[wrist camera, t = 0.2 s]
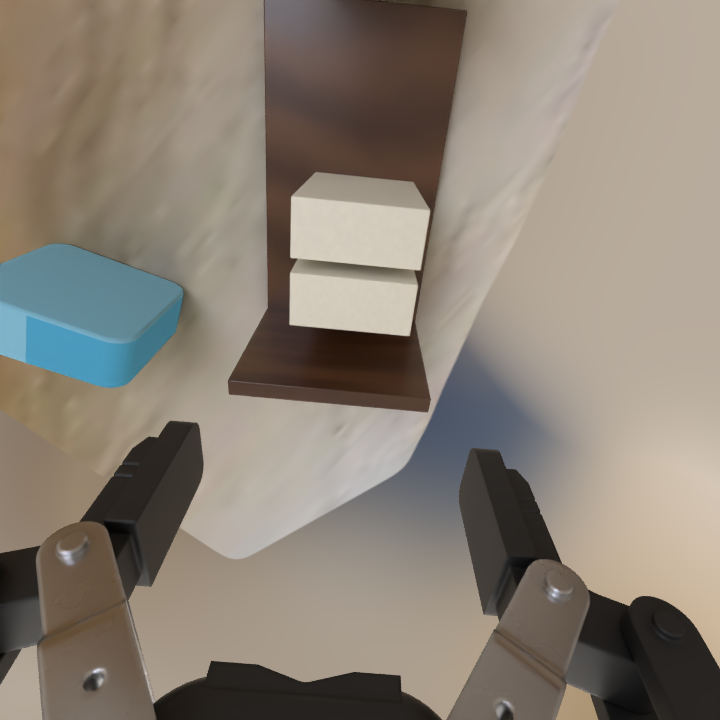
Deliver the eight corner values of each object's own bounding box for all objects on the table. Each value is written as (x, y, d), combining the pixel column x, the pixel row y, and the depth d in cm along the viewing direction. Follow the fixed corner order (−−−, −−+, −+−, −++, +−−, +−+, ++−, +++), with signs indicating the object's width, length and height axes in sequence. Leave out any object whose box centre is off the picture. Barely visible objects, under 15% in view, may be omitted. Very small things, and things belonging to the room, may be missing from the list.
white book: (313, 228, 37) (289, 272, 27) (405, 237, 37) (418, 285, 27) (311, 269, 39) (289, 325, 29) (400, 277, 39) (409, 336, 29)
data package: (56, 283, 41) (-51, 340, 31) (58, 239, 39) (-56, 284, 29) (181, 327, 43) (120, 394, 33) (189, 287, 41) (127, 345, 31)
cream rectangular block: (315, 171, 35) (290, 195, 25) (413, 181, 35) (430, 209, 25) (313, 217, 37) (290, 258, 26) (407, 227, 37) (420, 271, 27)
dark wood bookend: (266, -9, 30) (194, -92, 18) (464, 13, 31) (525, -54, 18) (270, 318, 43) (228, 399, 30) (411, 331, 43) (426, 417, 31)
